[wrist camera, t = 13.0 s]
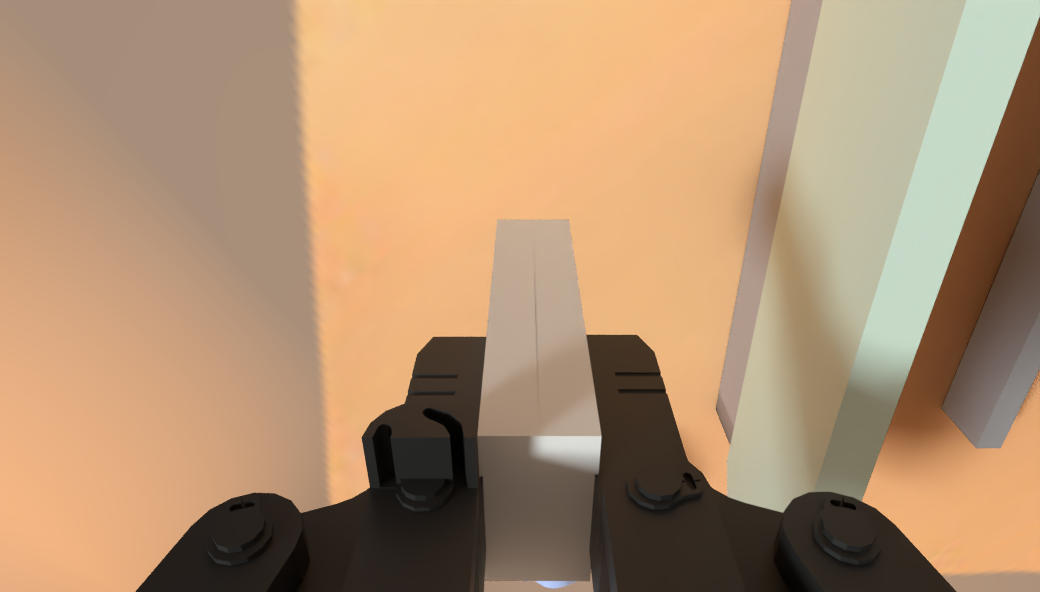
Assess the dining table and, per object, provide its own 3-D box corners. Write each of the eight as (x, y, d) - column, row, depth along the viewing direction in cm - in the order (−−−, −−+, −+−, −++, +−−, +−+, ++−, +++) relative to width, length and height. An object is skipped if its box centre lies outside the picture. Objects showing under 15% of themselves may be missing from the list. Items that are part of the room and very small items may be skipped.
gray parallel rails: (850, -316, 16) (900, -354, 14) (1282, -323, 16) (1399, -361, 14) (715, 409, 28) (731, 449, 26) (964, 408, 28) (1000, 448, 26)
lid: (940, -370, 13) (867, -362, 14) (1417, -1015, 4) (1164, -944, 5) (747, 464, 25) (711, 458, 26) (762, 769, 16) (706, 753, 17)
